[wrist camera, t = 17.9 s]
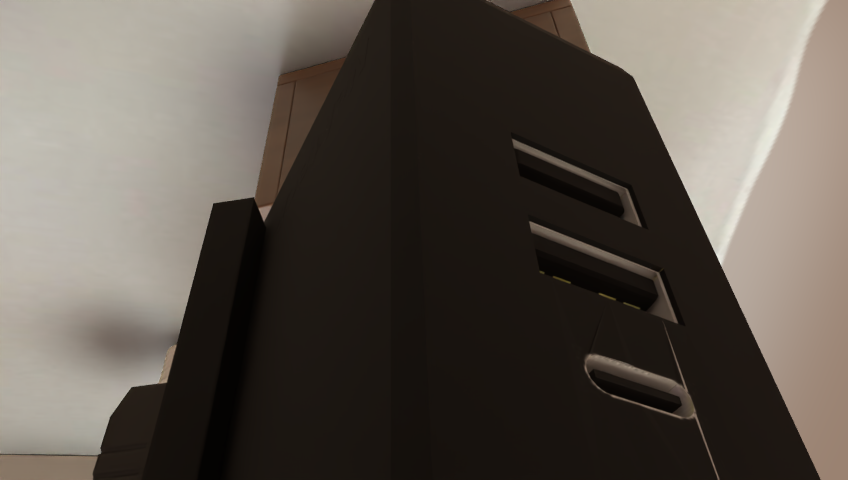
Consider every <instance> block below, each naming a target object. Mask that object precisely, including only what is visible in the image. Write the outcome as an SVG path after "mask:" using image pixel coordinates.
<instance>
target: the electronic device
mask: <svg viewBox="0 0 848 480" xmlns="http://www.w3.org/2000/svg"><path fill="white" fill-rule="evenodd" d="M264 223H265V226H266V232H265V237H264V243H263V248H262V254H261V259H260V264H259V270H258V275H257V281H256V286H255V292H254V297H253V303H252V308H251V314H250V319H249V325H248V330H247V336H246V341H245V347H244V352H243V358H242V363H241V369H240V374H239V380H238V385H237V391H236V396H235V402H234V407H233V413H232V418H231V424H230V429H229V435H228V440H227V446H226V451H225V456H224V462H223V467H222V473H221V478H220V480H820V477H819V475H818V473H817V471H816V469H815V467H814V464H813V462H812V460H811V458H810V456H809V454H808V452H807V449H806V448H805V445H804V443H803V441H802V439H801V437H800V435H799V432H798V430H797V428H796V426H795V424H794V422H793V419H792V417H791V415H790V413H789V411H788V409H787V407H786V404H785V402H784V400H783V398H782V396H781V394H780V392H779V389H778V387H777V385H776V383H775V381H774V379H773V376H772V374H771V372H770V370H769V368H768V366H767V364H766V362H765V359H764V357H763V355H762V353H761V351H760V349H759V347H758V344H757V342H756V340H755V338H754V336H753V334H752V331H751V329H750V328H749V325H748V323H747V321H746V318H745V316H744V314H743V312H742V310H741V308H740V306H739V304H738V301H737V299H736V297H735V295H734V293H733V291H732V289H731V286H730V284H729V282H728V280H727V278H726V276H725V273H724V271H723V269H722V267H721V265H720V263H719V261H718V258H717V256H716V254H715V252H714V250H713V248H712V245H711V243H710V241H709V239H708V237H707V235H706V233H705V230H704V228H703V226H702V224H701V222H700V220H699V218H698V215H697V213H696V211H695V209H694V207H693V205H692V203H691V200H690V198H689V196H688V194H687V192H686V190H685V188H684V185H683V183H682V181H681V179H680V177H679V175H678V172H677V170H676V168H675V166H674V164H673V162H672V160H671V157H670V155H669V153H668V151H667V149H666V147H665V145H664V142H663V140H662V138H661V136H660V134H659V132H658V130H657V127H656V125H655V123H654V121H653V119H652V117H651V115H650V112H649V110H648V108H647V106H646V104H645V102H644V99H643V97H642V95H641V93H640V91H639V89H638V87H637V84H636V82H635V80H634V78H633V77H632V76H631V75H630V74H628V73H627V72H626V71H624V70H623V69H622V68H620V67H618V66H616V65H614V64H612V63H610V62H608V61H606V60H604V59H602V58H600V57H598V56H596V55H594V54H592V53H590V52H588V51H586V50H584V49H582V48H580V47H578V46H576V45H574V44H572V43H570V42H568V41H566V40H564V39H562V38H560V37H558V36H556V35H554V34H552V33H550V32H548V31H546V30H544V29H542V28H540V27H538V26H536V25H534V24H532V23H530V22H528V21H526V20H524V19H522V18H520V17H518V16H516V15H514V14H512V13H510V12H508V11H506V10H504V9H502V8H500V7H498V6H496V5H494V4H492V3H490V2H488V1H486V0H375V2H374V3H373V5H372V7H371V9H370V11H369V13H368V15H367V17H366V19H365V21H364V23H363V25H362V27H361V29H360V31H359V33H358V35H357V37H356V39H355V41H354V43H353V45H352V47H351V49H350V51H349V53H348V55H347V57H346V59H345V61H344V63H343V65H342V67H341V69H340V71H339V73H338V75H337V77H336V79H335V81H334V83H333V85H332V87H331V89H330V91H329V93H328V95H327V97H326V99H325V101H324V103H323V105H322V107H321V109H320V111H319V113H318V115H317V117H316V119H315V121H314V123H313V125H312V127H311V129H310V131H309V133H308V135H307V137H306V139H305V141H304V143H303V145H302V147H301V149H300V151H299V153H298V155H297V157H296V159H295V161H294V163H293V165H292V167H291V169H290V171H289V173H288V175H287V177H286V179H285V181H284V183H283V185H282V187H281V189H280V191H279V193H278V195H277V197H276V199H275V201H274V203H273V205H272V207H271V209H270V211H269V213H268V215H267V217H266V219H265V221H264Z"/></svg>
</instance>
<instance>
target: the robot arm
mask: <svg viewBox="0 0 848 480" xmlns="http://www.w3.org/2000/svg"><path fill="white" fill-rule="evenodd" d="M265 232H266V226H265V223H264V221H263V218H262V216H261V214H260V211H259V209H258V206H257V204H256V201H255V199H254V197H253V198H247V199H240V200H234V201H227V202H220V203H214V204H213V207H212V211H211V214H210V218H209V222H208V226H207V230H206V234H205V237H204V241H203V245H202V249H201V253H200V257H199V260H198V264H197V268H196V272H195V276H194V280H193V283H192V287H191V291H190V295H189V299H188V303H187V306H186V310H185V314H184V318H183V322H182V326H181V330H180V333H179V337H178V341H177V345H176V349H175V353H174V356H173V360H172V364H171V368H170V372H169V376H168V379H167V383H160V384H153V385H145V386H138V387H131V389H130V390H129V392H128V393H127V394H126V396H125V397H124V398H123V400H122V401H121V403H120V404H119V405H118V407H117V408H116V410H115V411H114V412H113V414H112V415H111V417H110V419H109V423H108V426H107V429H106V432H105V435H104V439H103V442H102V445H101V448H100V449H101V454H99V455H98V458H97V461H96V464H95V467H94V470H93V473H92V475H93V480H220V478H221V473H222V467H223V462H224V456H225V451H226V446H227V440H228V435H229V429H230V424H231V418H232V413H233V407H234V402H235V396H236V391H237V385H238V380H239V374H240V369H241V363H242V358H243V352H244V347H245V341H246V336H247V330H248V325H249V319H250V314H251V308H252V303H253V297H254V292H255V286H256V281H257V275H258V270H259V264H260V259H261V254H262V248H263V243H264V237H265Z"/></svg>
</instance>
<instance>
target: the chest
mask: <svg viewBox="0 0 848 480" xmlns="http://www.w3.org/2000/svg"><path fill="white" fill-rule="evenodd" d="M510 13H512V14H514V15H516V16H518V17H520V18H522V19H524V20H526V21H528V22H530V23H532V24H534V25H536V26H538V27H540V28H542V29H544V30H546V31H548V32H550V33H552V34H554V35H556V36H558V37H560V38H562V39H564V40H566V41H568V42H570V43H572V44H574V45H576V46H578V47H580V48H582V49H584V50H586V51H588V52H590V50H589V47H588V45H587V42H586V40H585V37H584V34H583V32H582V29H581V27H580V24H579V22H578V19H577V16H576V14H575V11H574V9H573V7H572V4H571V1H570V0H552V1H549V2H545V3H541V4H538V5H534V6H530V7H527V8H523V9H520V10H516V11H512V12H510ZM590 53H591V52H590ZM345 59H346V57H345V58H341V59H338V60H334V61H330V62H327V63H323V64H319V65H316V66H312V67H309V68H305V69H301V70H298V71H294V72H290V73H287V74H283V75H280V76H279V79H278V84H277V89H276V94H275V99H274V104H273V109H272V114H271V119H270V124H269V129H268V134H267V139H266V144H265V149H264V154H263V160H262V165H261V170H260V175H259V180H258V185H257V190H256V195H255V201H256V204H257V206H258V209H259V211H260V214H261V216H262V218H263V221H265V219H266V217H267V215H268V213H269V211H270V209H271V207H272V205H273V203H274V201H275V199H276V197H277V195H278V193H279V191H280V189H281V187H282V185H283V183H284V181H285V179H286V177H287V175H288V173H289V171H290V169H291V167H292V165H293V163H294V161H295V159H296V157H297V155H298V153H299V151H300V149H301V147H302V145H303V143H304V141H305V139H306V137H307V135H308V133H309V131H310V129H311V127H312V125H313V123H314V121H315V119H316V117H317V115H318V113H319V111H320V109H321V107H322V105H323V103H324V101H325V99H326V97H327V95H328V93H329V91H330V89H331V87H332V85H333V83H334V81H335V79H336V77H337V75H338V73H339V71H340V69H341V67H342V65H343V63H344V61H345Z"/></svg>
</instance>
